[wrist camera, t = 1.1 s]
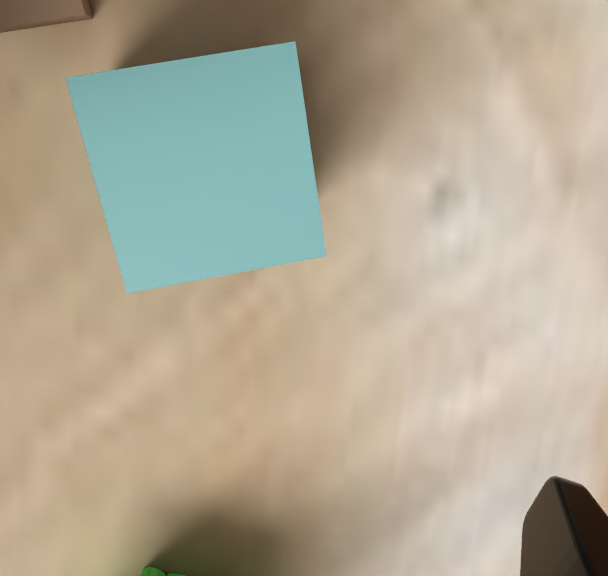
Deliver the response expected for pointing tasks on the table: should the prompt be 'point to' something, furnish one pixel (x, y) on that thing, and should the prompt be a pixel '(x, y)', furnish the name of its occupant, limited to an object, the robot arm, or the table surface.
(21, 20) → the walnut board
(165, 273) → the teal cube
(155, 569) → the fruit basket
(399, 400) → the table surface
